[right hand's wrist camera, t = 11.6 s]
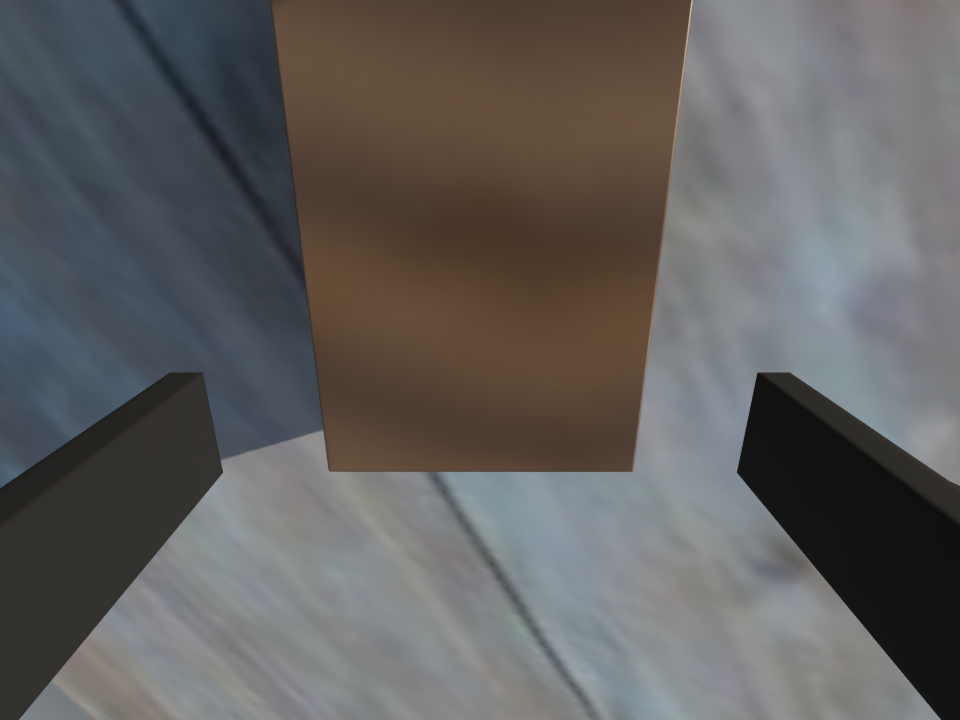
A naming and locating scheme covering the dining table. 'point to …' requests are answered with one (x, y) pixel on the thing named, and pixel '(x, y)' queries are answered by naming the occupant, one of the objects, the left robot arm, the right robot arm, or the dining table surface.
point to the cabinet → (481, 223)
